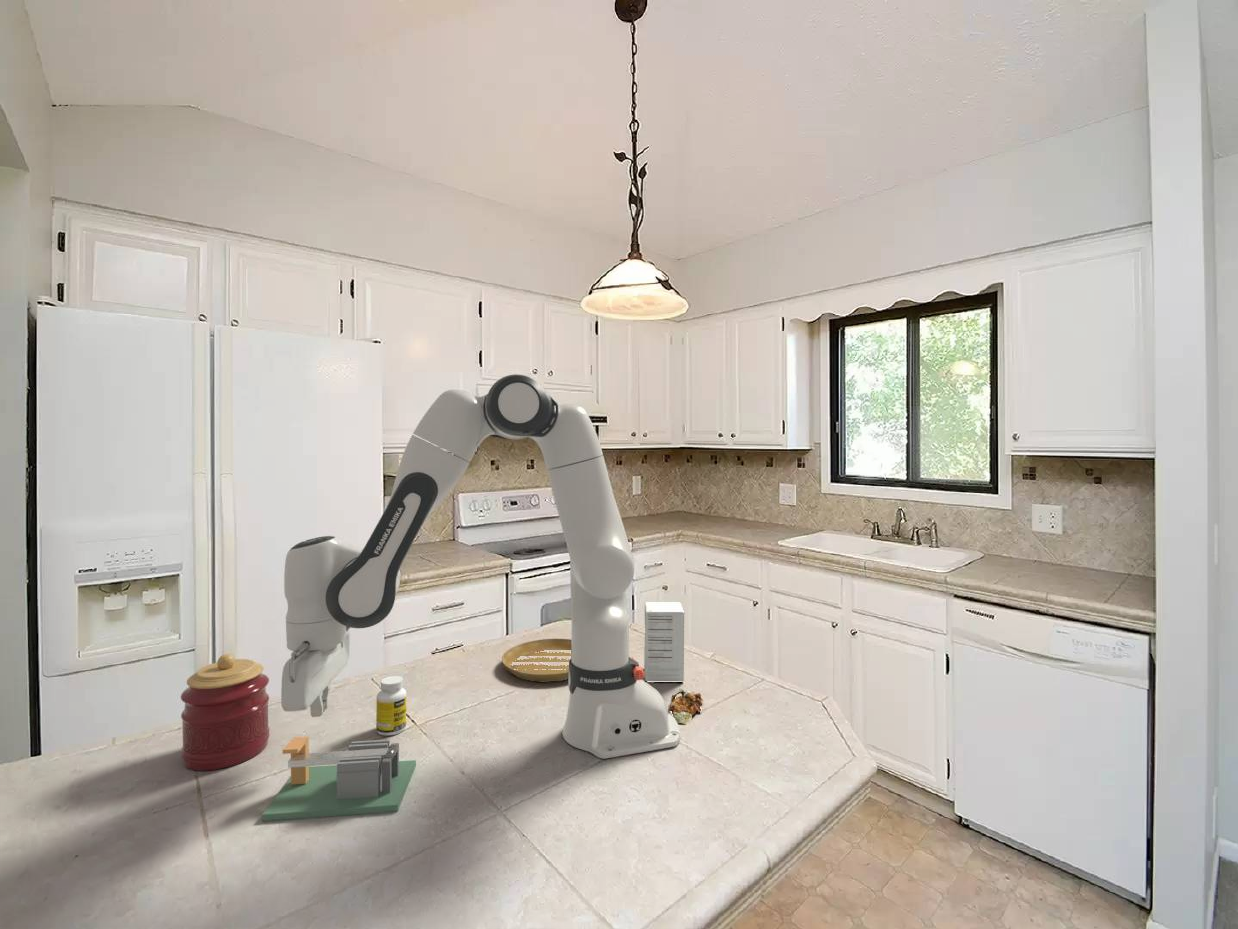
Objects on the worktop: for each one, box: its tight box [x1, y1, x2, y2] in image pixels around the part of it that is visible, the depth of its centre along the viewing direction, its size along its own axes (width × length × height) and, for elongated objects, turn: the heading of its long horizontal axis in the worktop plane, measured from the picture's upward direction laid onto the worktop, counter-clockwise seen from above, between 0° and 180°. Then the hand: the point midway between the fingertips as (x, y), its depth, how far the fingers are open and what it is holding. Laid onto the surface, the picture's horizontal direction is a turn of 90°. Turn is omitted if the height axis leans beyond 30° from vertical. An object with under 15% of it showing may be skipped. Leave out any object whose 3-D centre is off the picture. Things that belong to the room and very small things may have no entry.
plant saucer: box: [501, 638, 571, 683], centre depth 143 cm, size 24×24×3 cm
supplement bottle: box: [375, 675, 407, 737], centre depth 110 cm, size 5×5×10 cm
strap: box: [287, 744, 398, 769], centre depth 90 cm, size 16×3×1 cm, turn 97°
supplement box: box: [643, 601, 685, 681], centre depth 138 cm, size 10×9×17 cm
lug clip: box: [282, 736, 310, 785], centre depth 90 cm, size 2×4×7 cm, turn 8°
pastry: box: [668, 688, 704, 725], centre depth 119 cm, size 7×12×4 cm, turn 170°
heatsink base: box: [261, 738, 417, 822], centre depth 91 cm, size 19×12×6 cm, turn 97°
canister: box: [180, 653, 271, 771], centre depth 102 cm, size 13×13×18 cm
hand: (319, 713), depth 97 cm, fingers closed
